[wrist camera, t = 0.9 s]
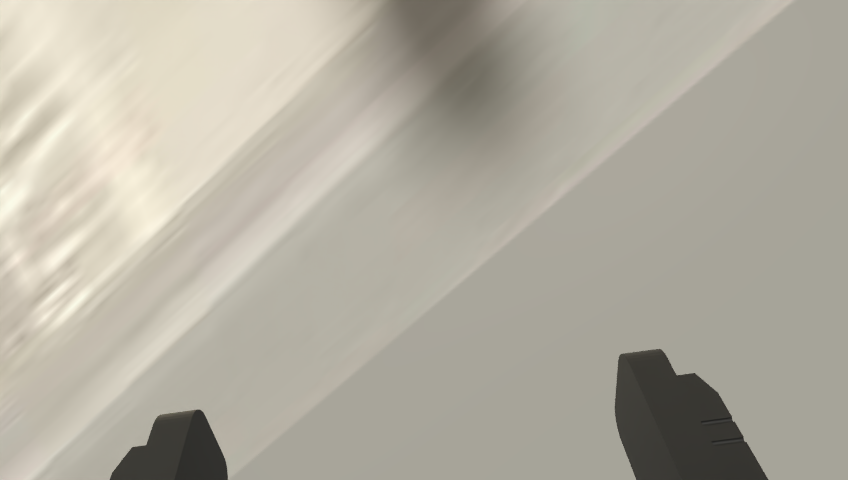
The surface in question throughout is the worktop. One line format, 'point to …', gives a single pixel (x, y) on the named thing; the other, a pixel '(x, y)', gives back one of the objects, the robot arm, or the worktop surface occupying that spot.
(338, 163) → the worktop surface
